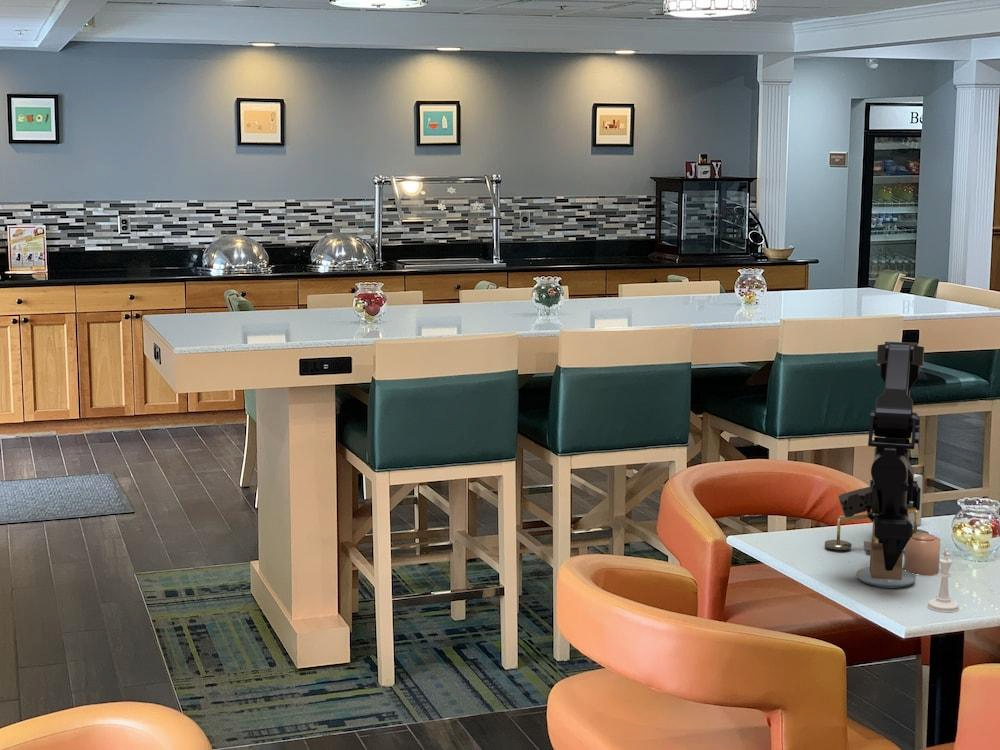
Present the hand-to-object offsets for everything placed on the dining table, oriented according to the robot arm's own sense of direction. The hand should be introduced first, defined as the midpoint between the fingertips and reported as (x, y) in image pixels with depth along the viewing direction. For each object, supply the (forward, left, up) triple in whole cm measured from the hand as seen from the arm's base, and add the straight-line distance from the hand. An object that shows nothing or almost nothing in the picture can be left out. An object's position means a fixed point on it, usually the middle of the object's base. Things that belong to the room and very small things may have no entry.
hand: (886, 562), depth 228 cm
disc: (0, 0, -3) cm, 3 cm away
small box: (-41, +6, -4) cm, 42 cm away
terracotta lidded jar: (-8, +7, -3) cm, 11 cm away
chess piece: (+13, +8, -4) cm, 16 cm away
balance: (-19, 0, -3) cm, 19 cm away
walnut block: (0, 0, -2) cm, 2 cm away
